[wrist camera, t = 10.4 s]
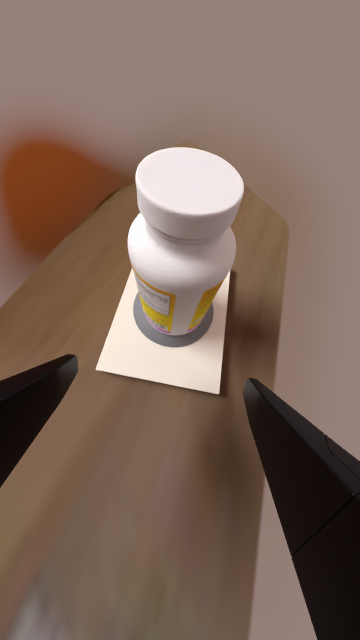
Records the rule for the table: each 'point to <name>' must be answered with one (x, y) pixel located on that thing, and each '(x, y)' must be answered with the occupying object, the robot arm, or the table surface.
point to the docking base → (166, 345)
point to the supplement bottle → (183, 234)
